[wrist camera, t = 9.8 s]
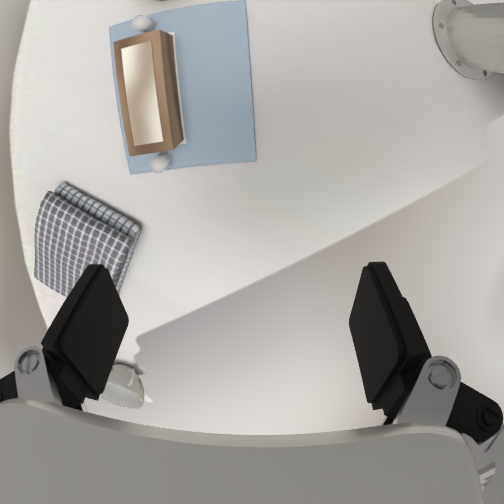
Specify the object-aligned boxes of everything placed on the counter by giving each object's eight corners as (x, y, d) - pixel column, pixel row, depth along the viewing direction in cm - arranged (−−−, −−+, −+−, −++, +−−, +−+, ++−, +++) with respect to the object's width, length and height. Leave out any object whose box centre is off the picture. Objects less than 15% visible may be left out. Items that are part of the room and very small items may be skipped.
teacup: (137, 388, 66) (131, 413, 59) (95, 366, 61) (86, 391, 55) (163, 369, 60) (157, 399, 53) (115, 343, 55) (104, 373, 48)
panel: (245, 1, 23) (244, -7, 20) (255, 159, 34) (256, 169, 31) (111, 27, 23) (97, 24, 20) (132, 172, 34) (121, 183, 31)
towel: (148, 220, 39) (129, 251, 32) (117, 299, 48) (102, 331, 41) (63, 175, 34) (32, 199, 28) (48, 262, 43) (27, 289, 37)
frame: (172, 35, 24) (159, 29, 20) (183, 139, 32) (173, 150, 27) (131, 45, 24) (112, 41, 20) (144, 145, 32) (128, 157, 27)
